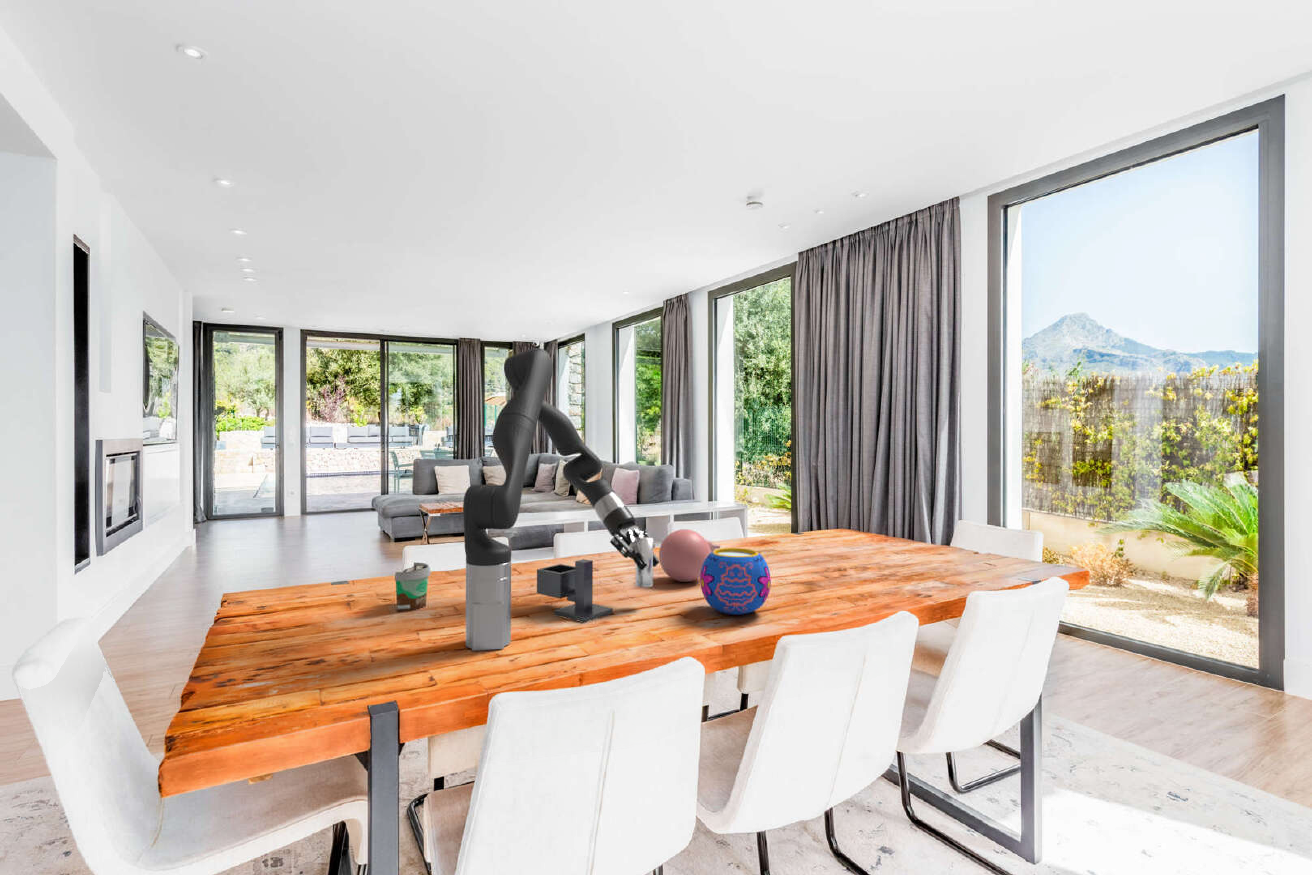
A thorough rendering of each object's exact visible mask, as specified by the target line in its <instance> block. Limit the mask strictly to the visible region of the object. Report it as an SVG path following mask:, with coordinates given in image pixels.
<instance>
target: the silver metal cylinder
mask: <svg viewBox="0 0 1312 875" xmlns="http://www.w3.org/2000/svg"><path fill="white" fill-rule="evenodd" d="M653 542H654V537H652V536H651V537H637V538H636V547H637V549H638V552H639V553H640V554H641V556H642V557H643V558H644V560H645V561H646V563H647V567H646V568H645V569H643V570H641V569H640V568H639V567H638V566H637V564H636V563H635V587H638V588H651V587H653V585H654V567H653V553H654V548H653Z"/></svg>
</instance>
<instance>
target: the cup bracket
mask: <svg viewBox="0 0 1312 875" xmlns="http://www.w3.org/2000/svg"><path fill="white" fill-rule="evenodd" d="M574 563H575V565H574V566H573V565H568V564H563V563H559V564H555V565H550V566H546V567H541V568H538V569H536V594H538V595H542V596H547V597H552V598H555V599H559V600H560V599H564V598H566V601H568V602H571V603H572V602H573V603H574V604H570V605H566V606H563V607H560V608H557V609H554V612H553V614H554V616H555V615H556V617H559V616H563V617H566V618H565V619H567V618H570V619H569V620H571V619H573V620H572V621H575V620H579V621H582V622H581V623H583V622H586V623H588V622H587V621H589V620H592V621H594V620H593V619H595V620H597V619H600V618H602V617H601V616H603V617H606V616H608V615H611V614H613V613H614V610H613V609H614V608H613V607H609V606H604V605H599V604H596V603H593V601H594V600H593V586H594V584H593V581H594V580H593V574H594V573H593V572H594V570H593V569H594V561H593V560H590V559H584V558H583V559H579V560H576V561H574ZM563 617H562V618H563ZM599 617H600V618H599ZM596 618H597V619H596ZM579 621H578V622H579ZM589 622H590V621H589Z"/></svg>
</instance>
